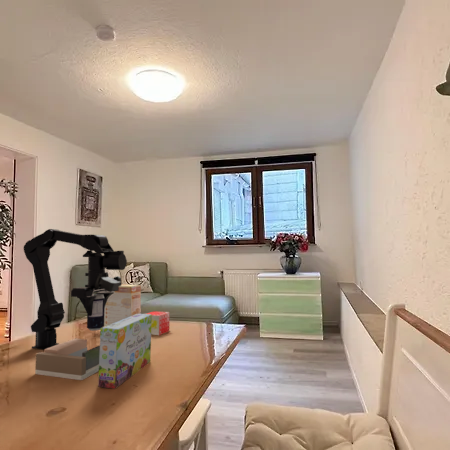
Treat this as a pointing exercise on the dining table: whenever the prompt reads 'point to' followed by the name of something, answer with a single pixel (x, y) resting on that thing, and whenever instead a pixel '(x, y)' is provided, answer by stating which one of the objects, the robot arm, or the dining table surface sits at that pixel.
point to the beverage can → (97, 313)
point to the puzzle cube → (159, 322)
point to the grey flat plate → (92, 357)
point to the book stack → (69, 347)
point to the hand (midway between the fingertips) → (95, 314)
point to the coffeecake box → (122, 304)
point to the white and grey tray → (63, 366)
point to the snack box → (124, 349)
